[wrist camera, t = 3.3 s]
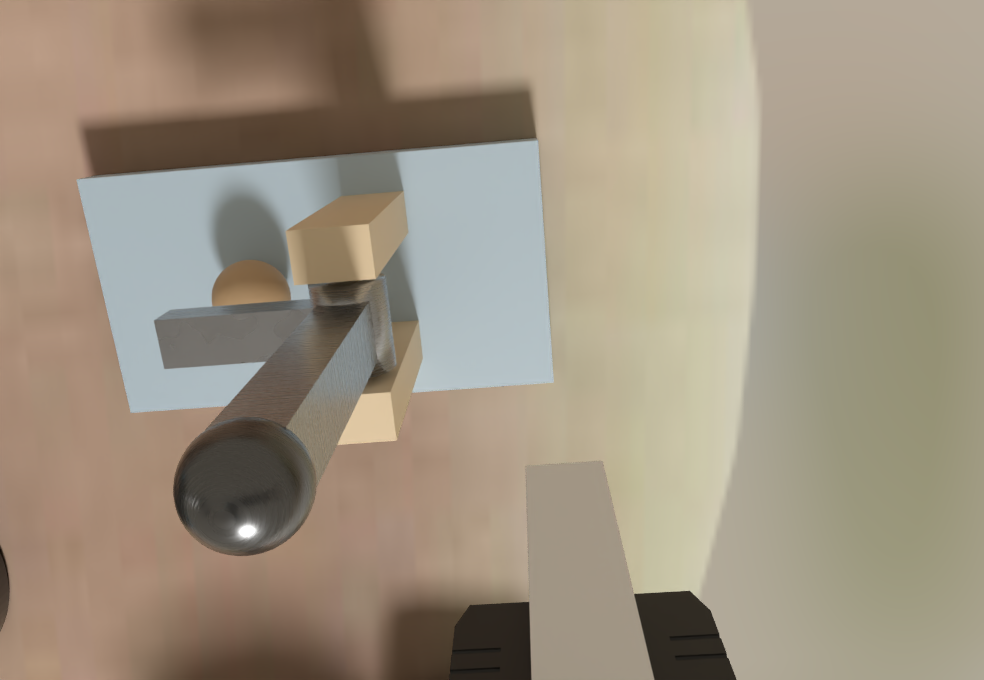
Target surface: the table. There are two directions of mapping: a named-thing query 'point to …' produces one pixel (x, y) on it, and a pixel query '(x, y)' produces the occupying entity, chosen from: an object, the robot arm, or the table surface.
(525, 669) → the robot arm
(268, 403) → the lever
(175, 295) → the base
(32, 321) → the table surface
